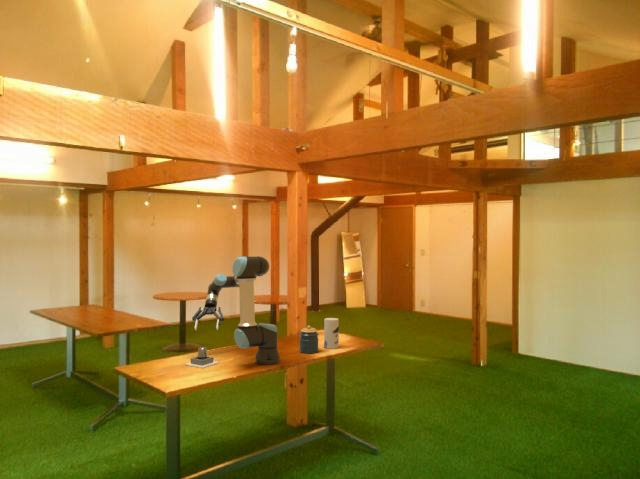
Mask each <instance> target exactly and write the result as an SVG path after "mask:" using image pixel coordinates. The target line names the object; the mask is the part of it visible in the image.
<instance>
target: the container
mask: <svg viewBox="0 0 640 479" xmlns="http://www.w3.org/2000/svg"><path fill="white" fill-rule="evenodd" d="M323 320H324V323H323V324H324V325H323V329H324V330H323V332H324V334H323V336H324V337H323V341H324V342H323V346H324V347H323V348H325V349H328V350H331V349H332V350H334V349H338V348H339V339H340V338H339V337H340V336H339V334H340V332H339V329H340V328H339V326H340V325H339V323H340V322H339V318H338V317H337V318H336V317H326V318H324V319H323Z"/></svg>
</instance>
